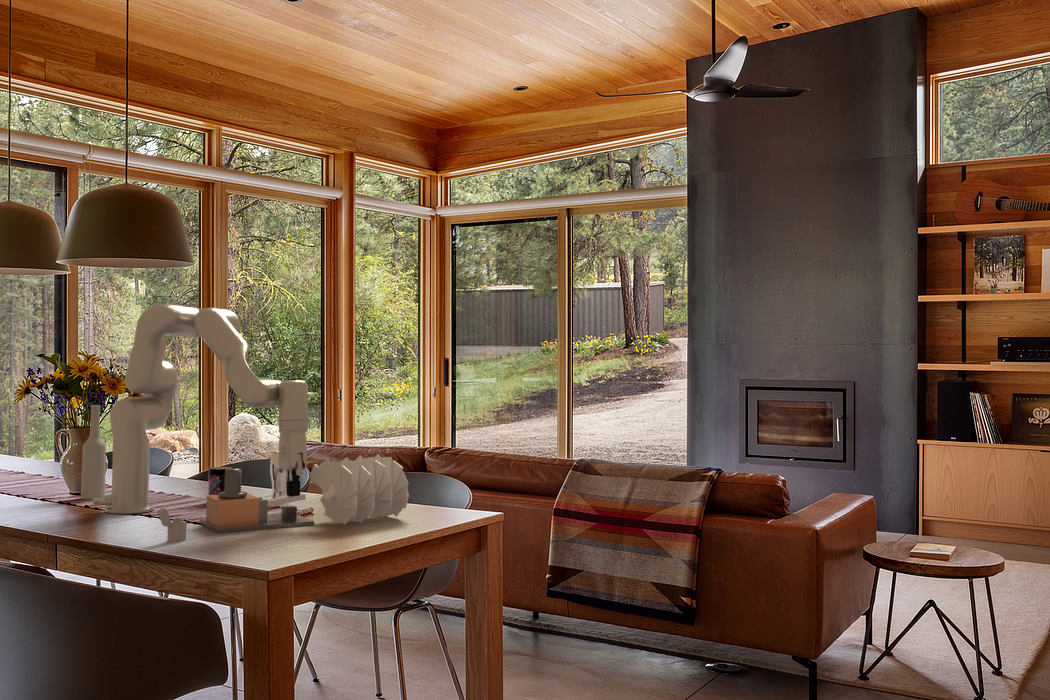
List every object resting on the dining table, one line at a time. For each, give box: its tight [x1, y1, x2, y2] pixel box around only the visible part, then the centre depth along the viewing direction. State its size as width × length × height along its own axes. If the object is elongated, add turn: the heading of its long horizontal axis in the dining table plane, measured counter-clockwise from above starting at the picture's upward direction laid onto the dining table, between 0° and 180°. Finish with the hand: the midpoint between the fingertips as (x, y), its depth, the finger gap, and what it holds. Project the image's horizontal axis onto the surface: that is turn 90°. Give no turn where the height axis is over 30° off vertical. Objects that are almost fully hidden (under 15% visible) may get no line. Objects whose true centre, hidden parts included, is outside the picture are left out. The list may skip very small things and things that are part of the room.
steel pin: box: [218, 468, 248, 499], centre depth 238 cm, size 7×7×13 cm
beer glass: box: [269, 450, 287, 499], centre depth 282 cm, size 7×7×15 cm
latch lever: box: [267, 492, 307, 508], centre depth 245 cm, size 12×2×1 cm, turn 123°
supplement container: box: [207, 466, 233, 495], centre depth 276 cm, size 7×7×10 cm
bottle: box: [80, 404, 107, 501], centre depth 280 cm, size 7×7×28 cm
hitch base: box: [199, 492, 315, 534], centre depth 241 cm, size 25×16×8 cm, turn 123°
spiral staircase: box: [308, 453, 410, 526], centre depth 250 cm, size 18×18×25 cm
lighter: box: [156, 507, 188, 543], centre depth 216 cm, size 7×2×8 cm, turn 148°
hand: (293, 495), depth 246 cm, fingers closed
